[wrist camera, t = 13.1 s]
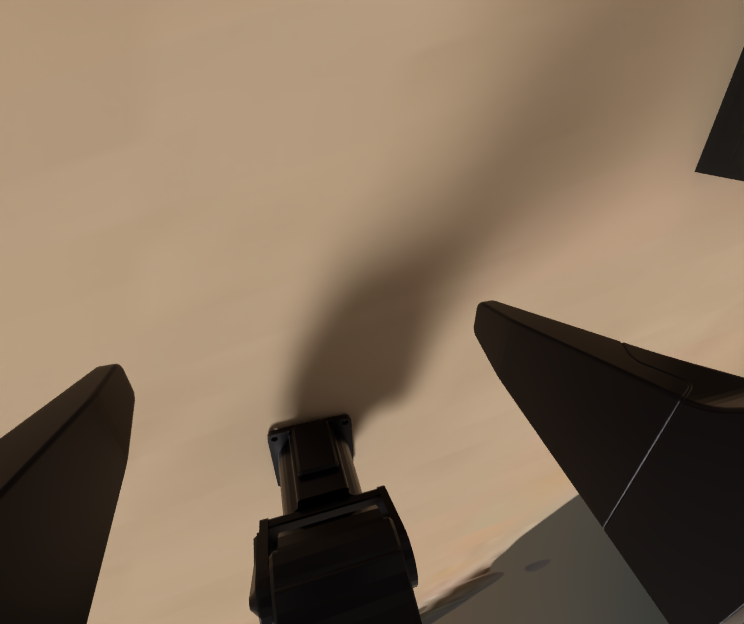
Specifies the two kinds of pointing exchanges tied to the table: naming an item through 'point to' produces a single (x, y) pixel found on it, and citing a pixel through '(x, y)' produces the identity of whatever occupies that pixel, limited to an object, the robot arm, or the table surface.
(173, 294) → the table surface
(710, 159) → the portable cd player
